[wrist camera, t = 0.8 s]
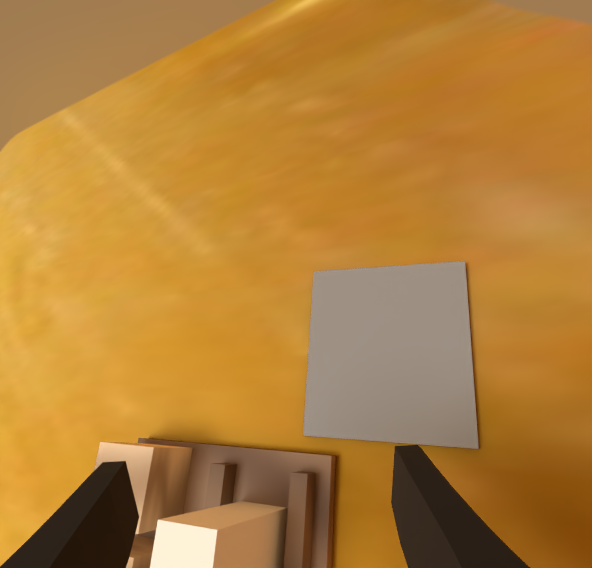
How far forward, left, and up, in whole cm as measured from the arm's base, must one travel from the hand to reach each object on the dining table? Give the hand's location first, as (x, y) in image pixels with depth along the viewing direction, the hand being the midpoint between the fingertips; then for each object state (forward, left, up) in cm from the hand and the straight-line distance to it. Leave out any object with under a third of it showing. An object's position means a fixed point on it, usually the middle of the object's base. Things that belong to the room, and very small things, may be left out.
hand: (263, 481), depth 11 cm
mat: (+7, -1, -15) cm, 17 cm away
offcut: (-2, +14, -14) cm, 20 cm away
